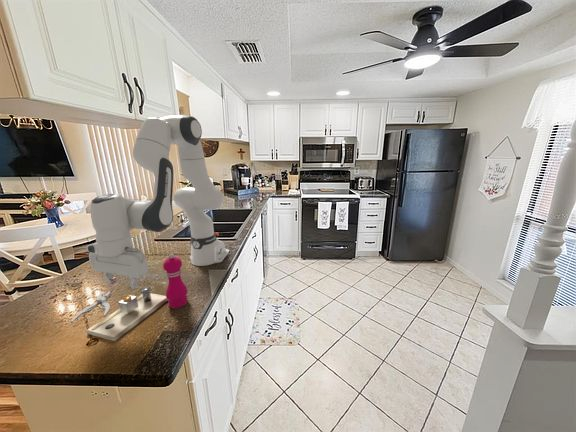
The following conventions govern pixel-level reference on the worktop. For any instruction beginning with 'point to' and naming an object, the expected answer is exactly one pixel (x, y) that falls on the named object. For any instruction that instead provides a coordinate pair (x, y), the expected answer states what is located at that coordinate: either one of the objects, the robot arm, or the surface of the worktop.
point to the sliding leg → (128, 304)
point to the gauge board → (126, 318)
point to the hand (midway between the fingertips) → (123, 285)
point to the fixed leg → (146, 293)
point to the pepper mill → (175, 282)
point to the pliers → (99, 300)
